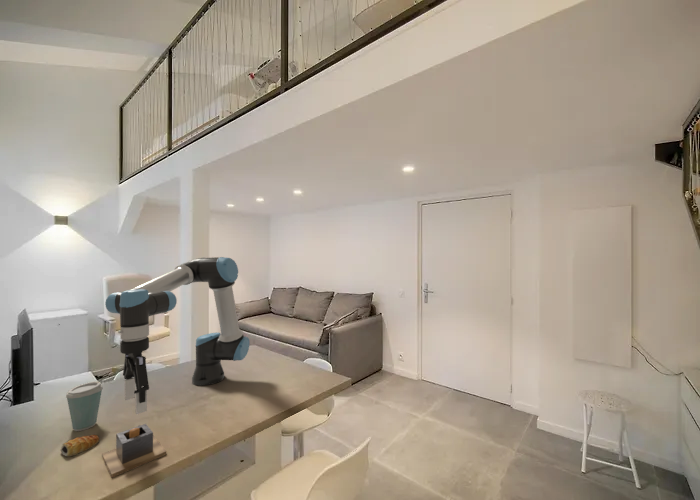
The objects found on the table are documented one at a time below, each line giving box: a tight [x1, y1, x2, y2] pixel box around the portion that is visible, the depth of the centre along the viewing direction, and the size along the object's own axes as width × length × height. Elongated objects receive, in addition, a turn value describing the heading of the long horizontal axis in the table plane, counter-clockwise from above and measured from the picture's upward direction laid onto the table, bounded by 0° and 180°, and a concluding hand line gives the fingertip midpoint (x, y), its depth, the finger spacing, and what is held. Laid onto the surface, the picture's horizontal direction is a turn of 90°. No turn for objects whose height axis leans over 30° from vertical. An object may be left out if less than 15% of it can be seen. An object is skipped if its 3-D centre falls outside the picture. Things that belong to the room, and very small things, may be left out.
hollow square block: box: [115, 423, 154, 464], centre depth 98 cm, size 8×8×6 cm
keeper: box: [101, 427, 167, 478], centre depth 98 cm, size 14×14×8 cm
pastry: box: [60, 434, 100, 457], centre depth 102 cm, size 9×7×4 cm
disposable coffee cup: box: [65, 380, 103, 432], centre depth 116 cm, size 11×11×15 cm
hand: (135, 405), depth 98 cm, fingers open, 13 cm apart
